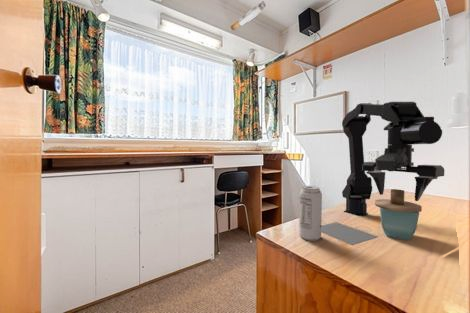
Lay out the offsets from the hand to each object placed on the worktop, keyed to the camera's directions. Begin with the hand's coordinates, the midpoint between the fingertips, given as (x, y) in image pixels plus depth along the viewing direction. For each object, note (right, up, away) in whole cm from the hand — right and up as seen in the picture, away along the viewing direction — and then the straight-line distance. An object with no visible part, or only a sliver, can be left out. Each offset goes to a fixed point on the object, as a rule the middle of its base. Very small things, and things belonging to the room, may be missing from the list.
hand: (397, 197), depth 64 cm
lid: (0, -3, 0) cm, 3 cm away
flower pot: (0, -12, 0) cm, 12 cm away
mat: (-15, -12, +3) cm, 19 cm away
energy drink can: (-26, -12, -1) cm, 29 cm away
